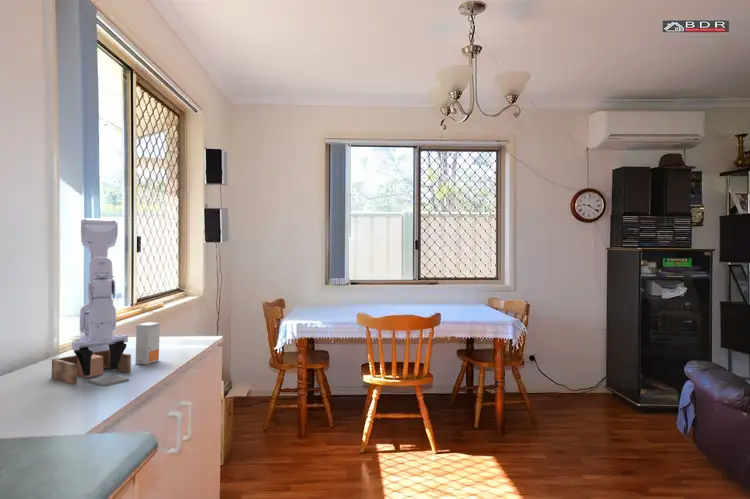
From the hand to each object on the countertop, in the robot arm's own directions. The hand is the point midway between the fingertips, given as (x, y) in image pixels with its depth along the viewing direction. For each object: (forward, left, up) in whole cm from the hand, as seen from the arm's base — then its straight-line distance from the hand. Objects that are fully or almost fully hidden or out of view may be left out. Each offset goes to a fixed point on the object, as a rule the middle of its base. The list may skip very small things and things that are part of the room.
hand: (100, 372), depth 142 cm
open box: (-4, 0, -1) cm, 4 cm away
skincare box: (-6, +18, -2) cm, 19 cm away
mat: (+6, -1, -1) cm, 6 cm away
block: (-5, 0, -2) cm, 5 cm away
